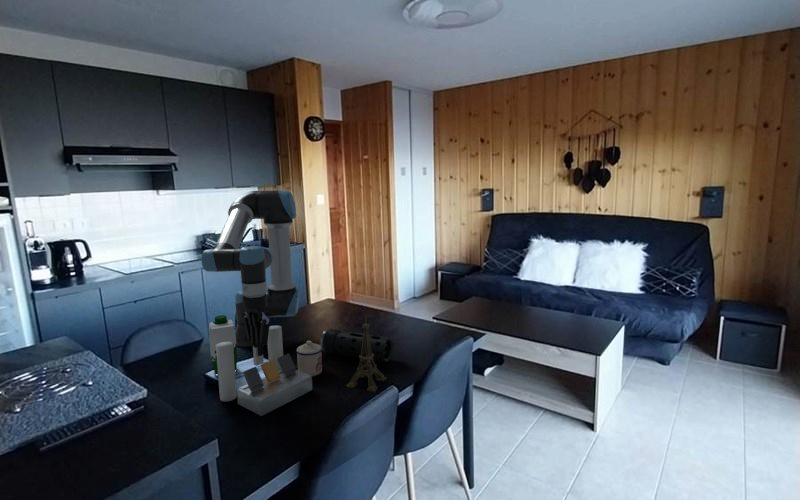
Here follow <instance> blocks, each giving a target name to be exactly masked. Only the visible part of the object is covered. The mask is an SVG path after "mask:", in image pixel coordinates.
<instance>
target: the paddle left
mask: <svg viewBox="0 0 800 500" xmlns="http://www.w3.org/2000/svg"><path fill="white" fill-rule="evenodd" d="M242 374H243V377H244V379H245V382H246V385H247V384H248V387H249V389H250V390H251V392H253V391H255V390H257V389H259V388H262V387H263V386H264V385H263V381H262V379H261V378H262V377H261V374H260V373H259V370H258V368H257V366H254V367H252V368H250V369H246V370H244V371H243V372H242Z"/></svg>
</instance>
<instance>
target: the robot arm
mask: <svg viewBox="0 0 800 500" xmlns="http://www.w3.org/2000/svg"><path fill="white" fill-rule="evenodd" d="M296 208H297V207H296V203H295V199H294V196H293V194H292V192H291V191H289V190H281V189H278V190H277V189H276V190H251V191H248V192H245V193H243V194H241V195H240V196H238V197H237V198H236V199H235V200H234V201H232V203H231V204H230V207H229V208H228V211H227V214H228V217H227V219H226V221H225V223H224V225H223V228H222V230H221V232H220V234H219V237H218V239H217V241H216V243H215V246H214V248H210V249H205V250H203V251H202V254H201V259H200V260H201V261H200V262H201V266H202V269H203V270H204V271H205V272H212V273H213V272H215V273H218V272H219V273H220V272H224V273H226V272H240V279H241V281H240V282H241V289H240V290H238V291H237V292H236V293H235V295H234V300H235V301H234V304H235V314H236V315H235V316H236V317H235V318H236V327H235V332H236V333H235V335H236V347H242V348H243V347H244V348H249V347H252V353H253V356H252V357H253V365H254V366H255V367H257V366H261V365H262V364H264V363H265V361H264V354H265V353H264V346H265V345H268V334H269V327H270V324H271V322H272V319H271V318H287V317H294V316H296V315H297V313H298V310H299V305H300V297H301V296H300V294H301V290H300V289H298V288H297V285H296V283H295V282H293V281H292V280H293V277H292V258H291V241H290V240H291V238H290V227H291V225H292V224H293V220H294V219H296V217H297V209H296ZM253 220H263V224H264V225H265V226H266V227H267V230H268V231H267V235H268V248H267V247H264V246H260V245H251V246H243V247H241V248H239V247H240V245H241V243H242V240H243V239H244V238H243V237H244V235H245V233H246V231H247V230H246V229H247V227H248V226H249V224H250V223H252V221H253ZM268 268H269V269H270V270H269V271H270V284H269V285H267V276H266V275H267V274H266V273H267V272H266V271H267V269H268Z"/></svg>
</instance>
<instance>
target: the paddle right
mask: <svg viewBox="0 0 800 500" xmlns="http://www.w3.org/2000/svg"><path fill="white" fill-rule="evenodd" d="M277 360H278V362H279V364H280V367H281V369H282V371H283V373H284V375H285V376H288V375H290V374H292V373H295V372H296V370H297V369H296V365H295V364H294V361H293V359H292V357H291V354H290V353H286V354H283V356H281V357H279V358H278V359H277Z"/></svg>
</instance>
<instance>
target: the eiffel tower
mask: <svg viewBox="0 0 800 500" xmlns="http://www.w3.org/2000/svg"><path fill="white" fill-rule="evenodd" d="M364 321H365V322H364V323H363V324H362V327H361V328H362V329H363V332H362V334H363V342H362V351H361V355H359V358H360V359H359V358H358V359H359V364H358V366H357V368H356V371H355V372H354V374H353V376H352V377H351V379H350V381H349V383H347V384H346V385H345V387H348V388H351V389H352V388H353V389H354V387H356V386H357V385H358V382H357V381H358V380H359V378H363V379H364V378H365V377H367V379H368V381H367V382H368V383H367V384H368V387H367V389H366V391H369V392H374V393H375V392H376V391H377V390H378V388H379V387H378V386H377V384H376V382H375V381H374V379H373V374H374V376H375V377H376V381H380V382H385V381H386V380H387V379H388V377H386V376H385V375H384V374H383V373H382V371H381V370H380V369H378V367H377V364H376V362H375V361H374V360H373V356H374V354H373V353H372V352H371V345H370V339H369V335H370V333H369V332H370V331H369V328H370V327H371V326H370V324H369V323H367V312H365V318H364Z"/></svg>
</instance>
